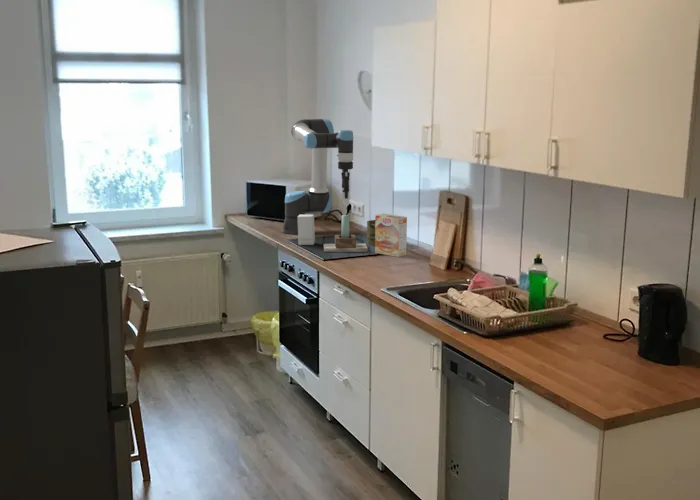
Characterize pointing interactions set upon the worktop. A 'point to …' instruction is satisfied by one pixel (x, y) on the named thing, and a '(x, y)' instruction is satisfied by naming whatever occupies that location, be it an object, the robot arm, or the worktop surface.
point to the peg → (345, 226)
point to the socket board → (358, 248)
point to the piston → (371, 232)
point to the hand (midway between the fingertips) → (345, 202)
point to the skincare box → (306, 230)
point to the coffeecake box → (390, 234)
